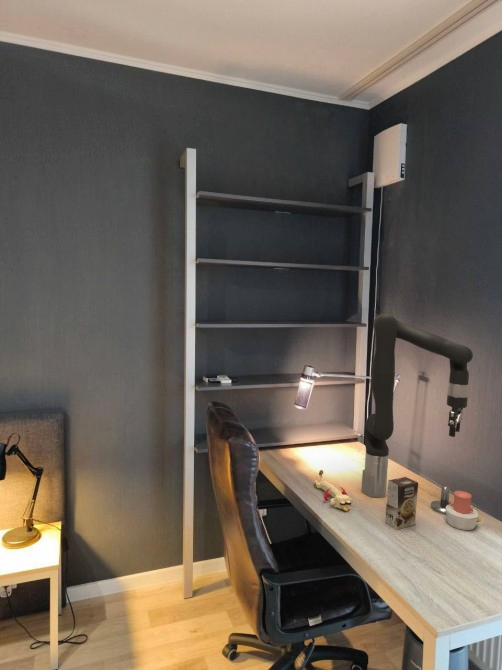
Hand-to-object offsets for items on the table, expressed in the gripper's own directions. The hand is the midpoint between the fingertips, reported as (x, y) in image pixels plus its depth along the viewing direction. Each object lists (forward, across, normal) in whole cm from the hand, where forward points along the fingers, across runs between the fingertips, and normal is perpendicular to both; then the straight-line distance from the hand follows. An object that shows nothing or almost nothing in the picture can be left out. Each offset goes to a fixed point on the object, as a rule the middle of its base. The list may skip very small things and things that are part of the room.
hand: (454, 433), depth 188 cm
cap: (+23, +18, +8) cm, 30 cm away
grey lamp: (+28, +9, 0) cm, 30 cm away
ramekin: (+28, +18, +8) cm, 35 cm away
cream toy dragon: (+29, +29, -38) cm, 56 cm away
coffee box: (+28, +32, -10) cm, 44 cm away
